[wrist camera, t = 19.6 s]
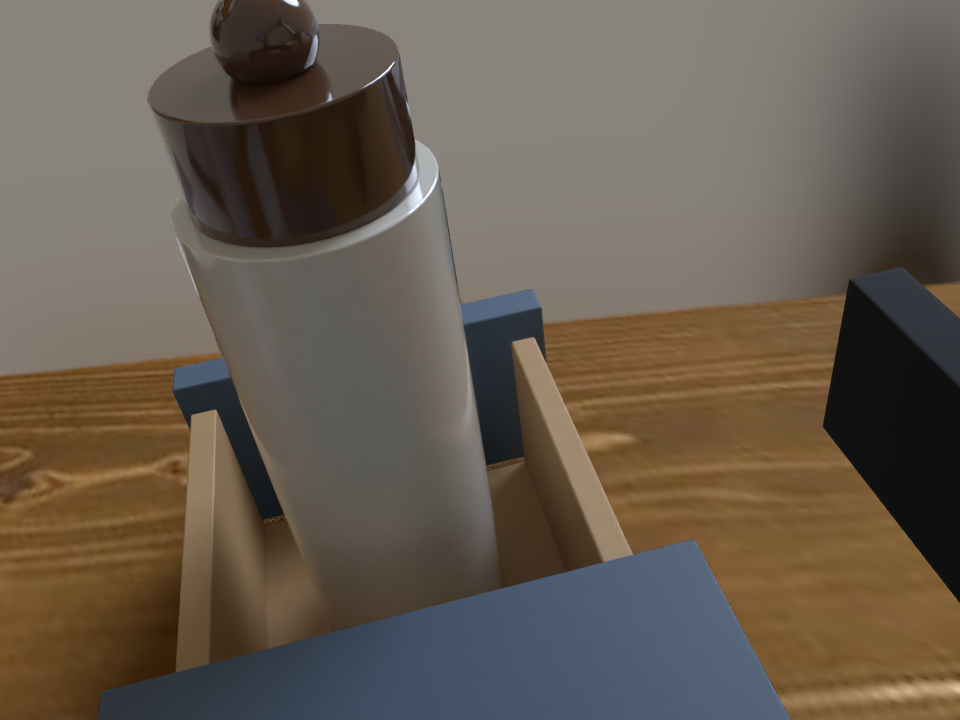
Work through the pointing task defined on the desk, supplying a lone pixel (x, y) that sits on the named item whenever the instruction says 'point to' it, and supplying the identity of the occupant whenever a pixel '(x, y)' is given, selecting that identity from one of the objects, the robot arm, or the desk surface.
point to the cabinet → (501, 658)
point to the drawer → (270, 548)
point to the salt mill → (334, 302)
